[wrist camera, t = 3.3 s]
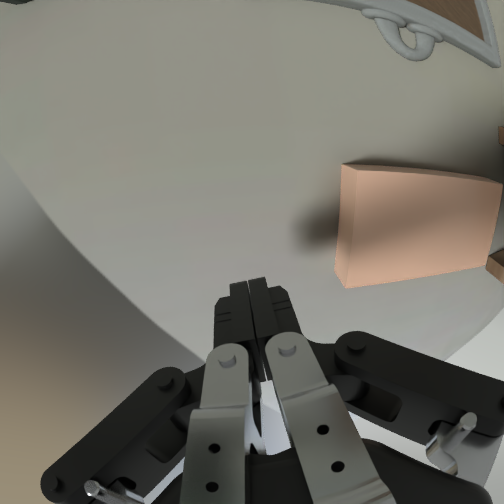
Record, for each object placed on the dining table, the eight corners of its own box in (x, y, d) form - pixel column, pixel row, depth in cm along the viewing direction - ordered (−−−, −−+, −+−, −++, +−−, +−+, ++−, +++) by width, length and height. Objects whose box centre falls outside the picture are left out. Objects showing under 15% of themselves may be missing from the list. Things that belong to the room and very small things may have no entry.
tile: (481, 175, 15) (503, 184, 12) (467, 252, 17) (484, 265, 15) (338, 162, 14) (357, 170, 12) (331, 267, 17) (345, 288, 15)
